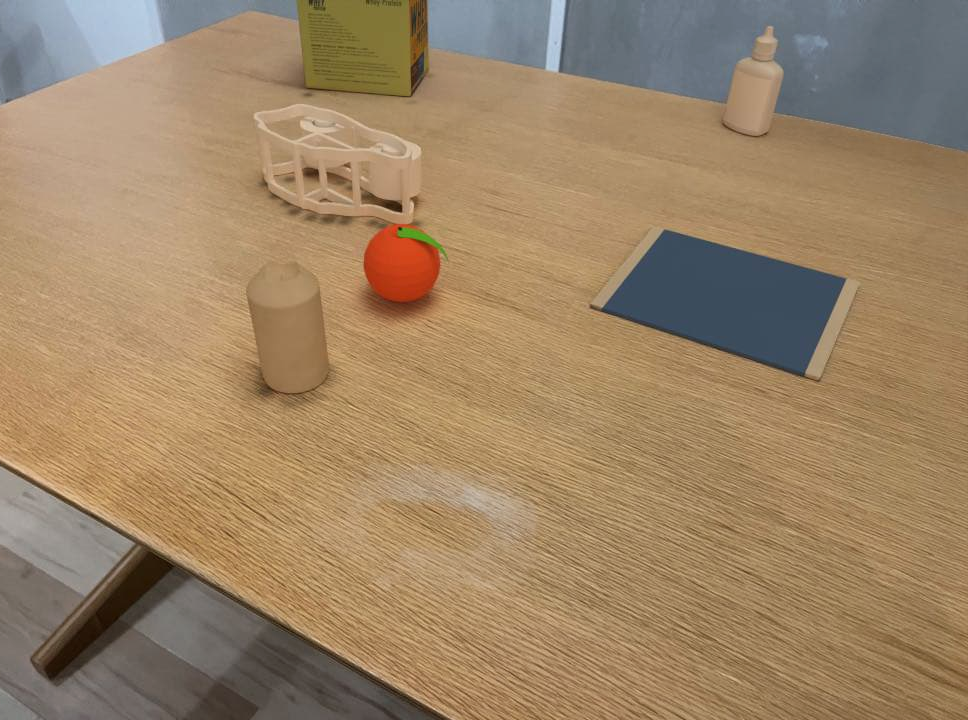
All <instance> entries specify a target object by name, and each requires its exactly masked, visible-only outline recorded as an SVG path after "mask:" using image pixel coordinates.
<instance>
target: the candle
mask: <svg viewBox="0 0 968 720" xmlns="http://www.w3.org/2000/svg"><path fill="white" fill-rule="evenodd" d="M245 288H246V289H245V294H246V299H247V303H248V309H249V314H250V319H251V323H252V329H253V333H254V339H255V344H256V350H257V355H258V359H259V364H260V370H261V373H262V377H263V380H264V382H265V384H267V386H268V387H269V388H271V389H272V390H274V391H277V392H279V393H284V394H300V393H304V392H308V391H311V390H313V389H315V388H317V387H319V386H320V385H322V384H323V383H324V381H325V380H327V378H328V375H329V371H330V362H329V354H328V353H329V352H328V344H327V338H326V328H325V321H324V319H325V318H324V313H323V304H322V296H321V289H320V288H321V287H320V281H319V278H318V277H317V276H316V274H314V273H313V272H312V271H310V270H309V269H307V268H305V267H304V266H303V265H301V264H300V263H299V262H297V261H290V262H286V263H282V262H279V261H274V260H273V261H268V262H266V263H264V264H263V266H262V268H260V270H259V271H258V272H257V273H255V275H254V276H253V277H252V278H251V279H250V280H249V282H248V283H247V284H246V287H245Z"/></svg>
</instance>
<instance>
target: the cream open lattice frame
mask: <svg viewBox="0 0 968 720" xmlns="http://www.w3.org/2000/svg"><path fill="white" fill-rule="evenodd" d="M300 116H304V117H303V118H302V119H301V120H299V130H300V138H298V139H295V140H292V139H290V138H287V137H284V136H282V135H280V134H278V133H277V132H275V131H272V130H271V129H269V128H268V127H267V125H266V124H270V123H277V122H283V121H287V120H291V119H294V118H296V117H300ZM253 120H254V126H255V129H256V134H257V139H258V140H257V141H258V147H259V153H260V160H261V166H262V173H263V179H264V180H263V181H264V182H265V183H267V189H268V191H269V192H270V193H272V194H274V195H275V196H276V197H278V198H280V199H282V200H284V201H285V202H287V203H289V204H291V205H293V206H296V207H299V208H301V209H302V210H308V211H309V210H310V211H312V212H314V213H316V214H319V215H335V216H336V215H337V216H343V217H375V218H379V219H381V220H383V221H386V222H388V223H391V224H393V225H395V224H408V225H410V224H411V223H413V221H414V217H415V203H414V201H413V200H412V199H411V198H413V197H415V196H417V195H419V194H420V193H421V191H422V190H423V169H422V167H423V166H422V164H423V163H422V149H421V147H420V145H417V144H416V143H414V142H411V141H408V140H405V139H403V138H401V137H400V136H397V135H395V134H393V133H390V132H387V131H384V130H380V129H379V130H378V129H375V128H374V129H373V128H371V127H368V126H366V125H364V124H363V123H361V122H359V121H357V120H356V119H354V118H352V117H350V116H348V115H346V114H343V113H341V112H339V111H335V110H333V109H328V108H323V107H318V106H314V105H310V104H305V103H296V104H295V103H294V104H292V105H289V106H287V107H282V108H277V109H273V110H263V111H257V112H255V113H254V115H253ZM361 138H362V139H365V140H367V141H369V142H373V143H375V144H373V145H371V146H370V147H369V148H368V147H367V148H365V147H361ZM270 144H271V145H273V146H275V147H277V148H279V149H281V150H283V151H286V152H288V153H291V155H292V156H291V157H292V160H290V161H285V162H281V163H274V164H273V160H272V152H271V147H270ZM301 156H302V157H301ZM362 162H367V167H368V169H367V170H368V179H367V177H365V176H364V175H363V167H362V165H363V164H362ZM347 163H350V168H349V167H347V166H345V165H346V164H347ZM307 168H310V169H314V170H318V177H319V186H320V187H318V188H315V189H313V190H312V191H309V192H308V193H306V191H305V184H304V176H303V174H304V173H303V170H304V169H307ZM291 173H294V179H295V186H296V193H294V192H293V191H291V190H289V189H288V188H286V187H283V186H282V185H280V184H278V183H277V182H276V179H275V176H281V175H287V174H291ZM327 173H331V174H334V175H337V176H340V177H342V178H344V179H347V180H348V181H351V187H352V199H351V198H349V197H347V196H345V195H343V194H341V193H340V192H337V191H335V190H333V189H331V188H329V185H328V184H329V183H328V175H327ZM361 189H362V190H364V191H365V192H368V193H370V194H372V195H373V196H374V197H377V198H378V199H383V200H387V201H388V200H389V201H394V202H397V204H400V205H401V206H402V212H399V211H394V210H391V209H389V208H386V207H384V206H381V205H377V204H374V203H373V204H372V203H363V204H362V193H361ZM324 199H325V200H327V202H325V201H324V202H322V200H324ZM320 201H321V202H320ZM328 201H329V202H328Z"/></svg>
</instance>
